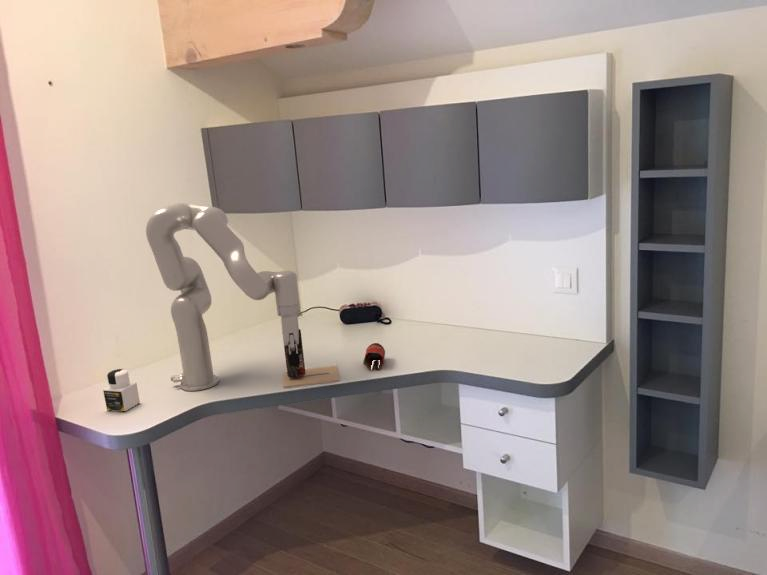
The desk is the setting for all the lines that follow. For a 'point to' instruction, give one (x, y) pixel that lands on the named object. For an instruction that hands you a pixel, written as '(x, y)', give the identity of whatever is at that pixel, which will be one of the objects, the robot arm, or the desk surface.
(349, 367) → the desk surface
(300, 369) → the deodorant
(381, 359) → the beverage can
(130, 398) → the medicine bottle
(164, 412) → the desk surface
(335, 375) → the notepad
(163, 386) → the desk surface
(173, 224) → the robot arm
